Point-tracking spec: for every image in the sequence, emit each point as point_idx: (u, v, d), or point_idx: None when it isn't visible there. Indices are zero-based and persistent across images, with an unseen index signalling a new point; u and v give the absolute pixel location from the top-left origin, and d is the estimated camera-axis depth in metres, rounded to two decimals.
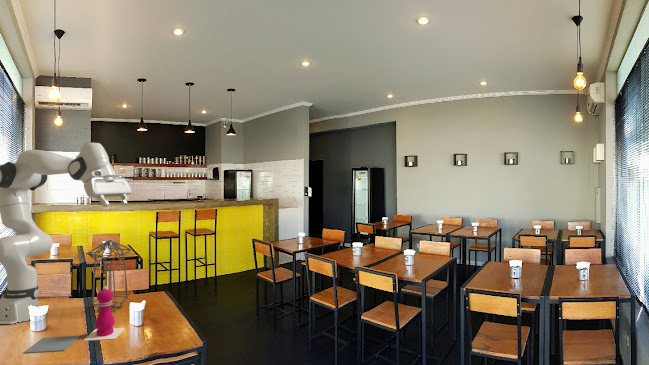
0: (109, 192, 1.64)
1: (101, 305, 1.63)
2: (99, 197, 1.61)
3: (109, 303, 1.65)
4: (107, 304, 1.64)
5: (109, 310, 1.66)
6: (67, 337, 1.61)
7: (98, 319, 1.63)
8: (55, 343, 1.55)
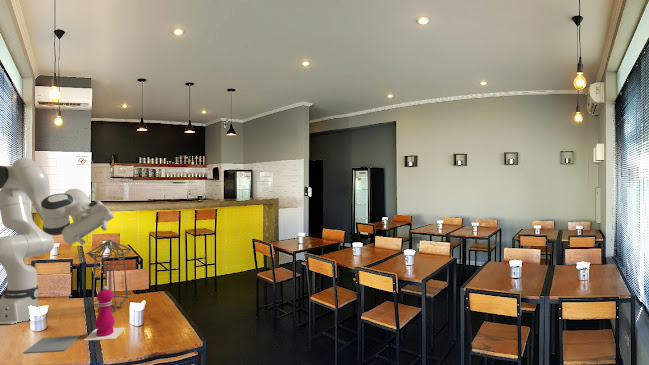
0: None
1: (101, 305, 1.63)
2: (105, 221, 1.65)
3: (109, 303, 1.65)
4: (107, 304, 1.64)
5: (109, 310, 1.66)
6: (67, 337, 1.61)
7: (98, 319, 1.63)
8: (55, 343, 1.55)
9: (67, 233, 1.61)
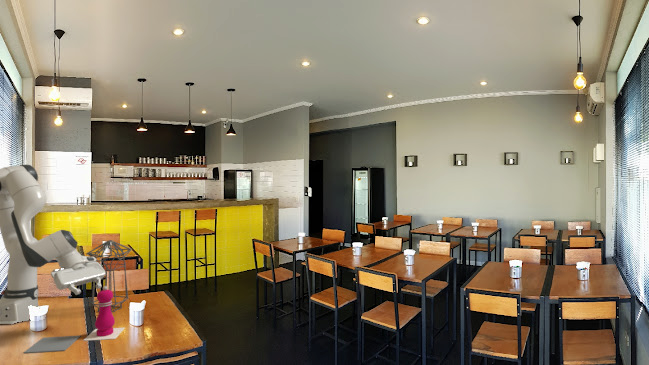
0: None
1: (101, 305, 1.63)
2: None
3: (109, 303, 1.65)
4: (107, 304, 1.64)
5: (109, 310, 1.66)
6: (67, 337, 1.61)
7: (98, 319, 1.63)
8: (55, 343, 1.55)
9: (64, 278, 1.62)
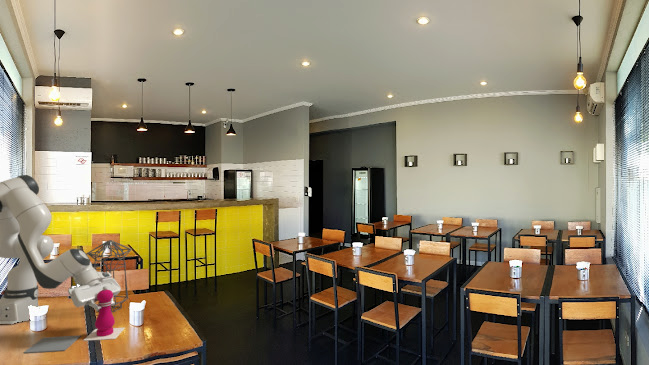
0: None
1: (101, 305, 1.63)
2: None
3: (109, 303, 1.65)
4: (107, 304, 1.64)
5: (109, 310, 1.66)
6: (67, 337, 1.61)
7: (98, 319, 1.63)
8: (55, 343, 1.55)
9: (81, 295, 1.60)
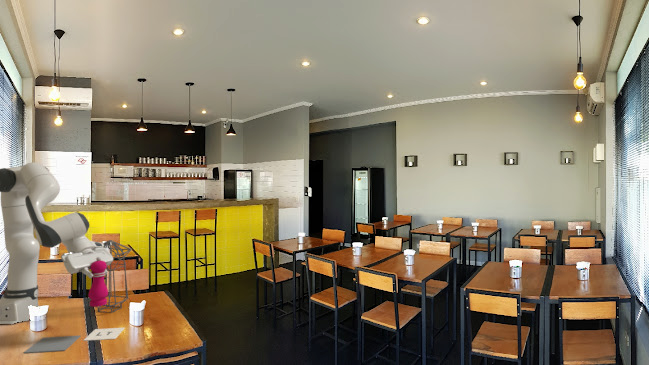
0: None
1: (95, 275, 1.63)
2: None
3: (103, 273, 1.65)
4: (101, 274, 1.64)
5: (103, 281, 1.66)
6: (67, 337, 1.61)
7: (92, 289, 1.63)
8: (55, 343, 1.55)
9: (75, 261, 1.59)
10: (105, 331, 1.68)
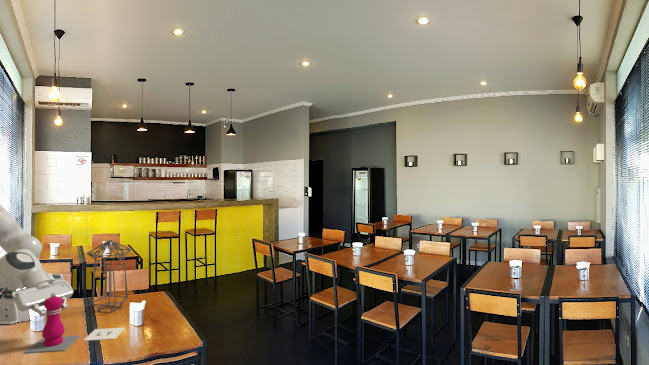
0: None
1: (49, 313, 1.53)
2: None
3: (58, 311, 1.54)
4: (55, 312, 1.54)
5: (58, 318, 1.55)
6: (67, 337, 1.61)
7: (45, 328, 1.52)
8: None
9: (26, 298, 1.49)
10: (105, 331, 1.68)
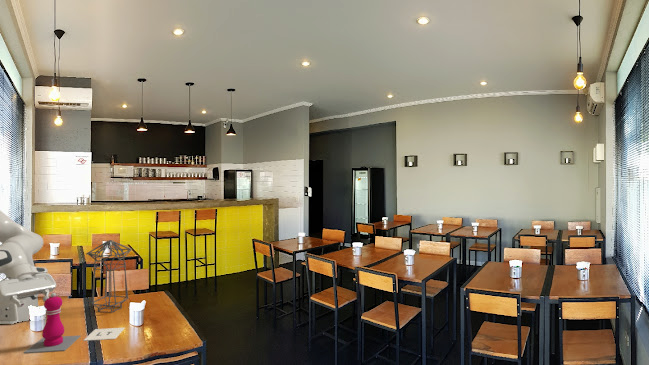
0: None
1: (48, 313, 1.53)
2: None
3: (57, 311, 1.54)
4: (55, 312, 1.54)
5: (58, 318, 1.55)
6: (67, 337, 1.61)
7: (45, 328, 1.52)
8: None
9: (6, 288, 1.52)
10: (105, 331, 1.68)
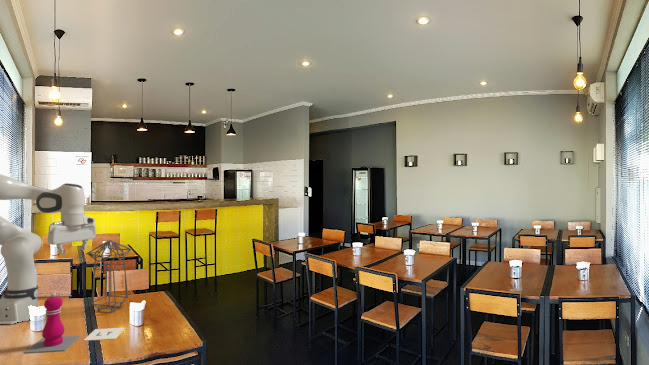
0: None
1: (48, 313, 1.53)
2: None
3: (58, 311, 1.54)
4: (55, 312, 1.54)
5: (58, 318, 1.55)
6: (67, 337, 1.61)
7: (45, 328, 1.53)
8: None
9: (58, 236, 1.66)
10: (105, 331, 1.68)
